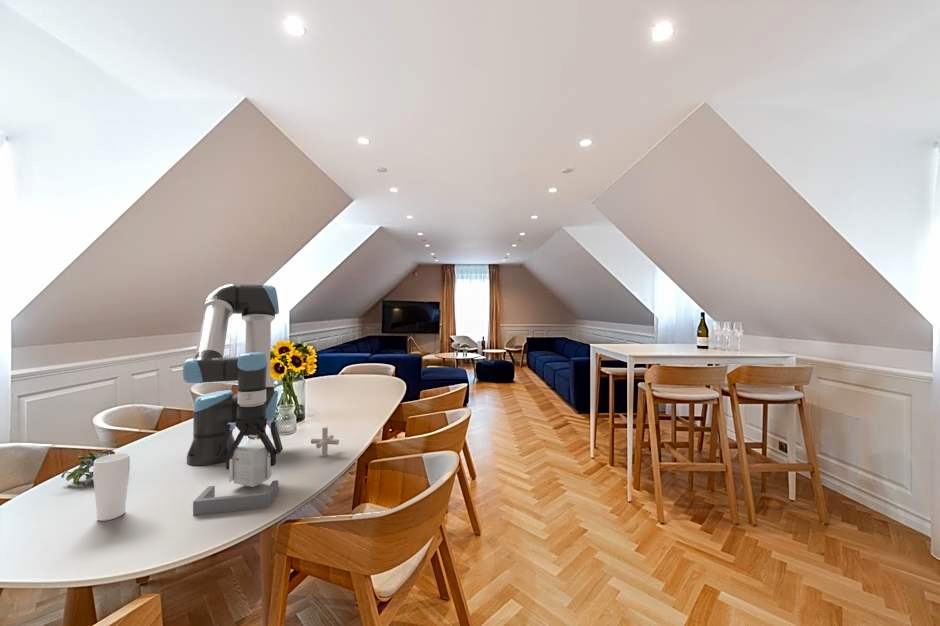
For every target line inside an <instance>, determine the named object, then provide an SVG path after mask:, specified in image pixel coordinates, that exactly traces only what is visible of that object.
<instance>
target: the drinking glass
mask: <svg viewBox="0 0 940 626" xmlns="http://www.w3.org/2000/svg"><path fill="white" fill-rule="evenodd" d="M130 465H131V459H130V454H129V453H128V452H127V453H126V452H119V453H116V454H111V455H110V454H109V455H106V456H103V457H100V458H98V459H96V460H95V461H94V466H92V467H93V470H92V472H93V487H94V497H95V507H96V508H95V509H96V519H97V520H98V521H101V522H105V521H111V520H114V519H117V518H119V517H121V516H122V515H124V514H125V512H126V507H127V506H126V503H127V496H128V495H127V494H128V487H129V477H130V469H131V467H130Z"/></svg>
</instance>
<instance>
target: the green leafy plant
mask: <svg viewBox="0 0 940 626" xmlns="http://www.w3.org/2000/svg"><path fill="white" fill-rule="evenodd" d="M101 452H102V453H101ZM111 454H117V453H116V452H115V451H113V450H112V449H108V448H104V449H100V452H95V451H92V450H91V451H89V454H87V455H86V456H81V455H78V456H77V459H79V460H80V464H79V466H78V468H75V469H74V470H72V471H69V470H64V471H63V473H62V474H61V476H60V477H61V478H64V477H65V474H68V475H66V477H65V480H66V481H67V482H69V481H70V480H71V479H73V480H72V481H73V483H76V484H78V483H79V480H80V479H81V477H83V476H85V483H84V485H83V488H85V487H86V486H87V485H88V483H89V482H90V481H91V480H92V478H93V471H90V469H91V467H94V461H95V460H96V459H98V458H100V457H103V456H106V455H111Z"/></svg>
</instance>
